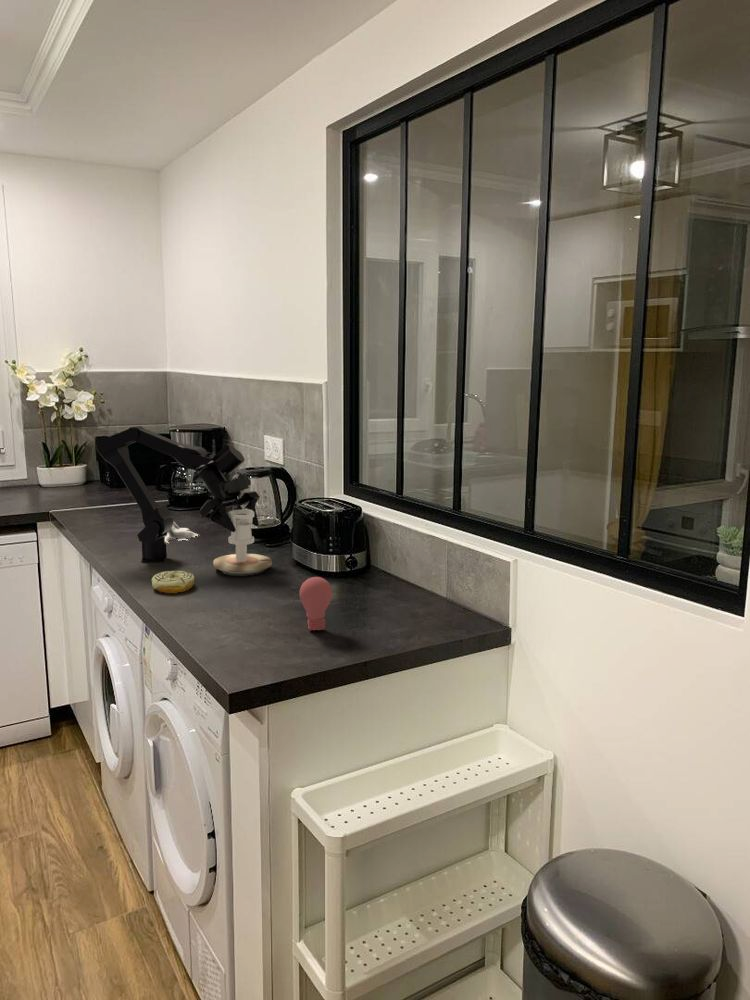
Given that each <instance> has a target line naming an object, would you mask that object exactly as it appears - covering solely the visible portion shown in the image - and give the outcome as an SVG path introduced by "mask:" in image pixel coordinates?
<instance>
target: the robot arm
mask: <svg viewBox="0 0 750 1000" xmlns="http://www.w3.org/2000/svg"><path fill="white" fill-rule="evenodd" d="M136 442H137V443H138V444H141V445H143V446H146V447H149V448H150V449H153V450H155V451H158V452H161V453H163V454H165V455H168V456H171V458H173V459H175V460H176V462H177V463H179V464H180V465H182V466H184V467H185V468H187V469H188V470H197V469H200V468H202V469H200V471H194V475H193V478H192V482H197V483H203V484H204V486H205V487H206V489H207V490H208V494H207V497H208V499H207V500H206V501H205V502H204V503H203V505H202V506H201V508H200V509H199V514H200V517H202V519H203V520H207V521H210V522H213V523H215V524H218V525H219V526H221V527H223V528H225V529H227V530H228V531H230V532H231V531H232V532H235V531H236V529H235V527H234V525H233V523H232V521H231V518H230V517H229V516H228V512H227V509H229V508H234V507H236V508H237V510H242V509H245V508H247V509H250V510H253V511H254V517H253V521H252V523H251V525H253V526H254V527H258V526H259V524H260V523H259V519H258V515H257V510H256V504H257V503H258V501H259V499H260V495H259V494H258V493H257V491H254V490H251V491H247V492H244V493H243V494H242V491H244V490H248V489H249V488H250V486H251V484H252V482H251V479H250V478H249V476H248V475H247V474H244V475H243V474H242V475H241V476H239V477H236V478H234V479H229V480H227V478H226V477H225V476H224V475H225V474H226V475H227V474H228V475H231V474H232V473H233V472H234V471H235V470H236V469H237V468H239V467H240V466H241V465H242V464H243V463H245V461H246V459H245V457H244V455H243V454H242V453H241V452H240V450H237V448H235V447H234V446H231V444H230V443H226V444H225V445H224V446H223V447H222V448H221V449H220V450H219V451H218V452H217V453H213V452H209V451H207V449H205V448H204V447H201V446H197V445H192V444H185V443H181V442H177V441H175V440H173V439H170V438H168V437H165V436H163V435H161V434H159V433H156V432H153V431H151V430H150V429H147V428H144V427H143V426H142V425H135V426H131V427H129V428H127V429H125V430H122V431H119V432H118V433H111V434H105V435H102V436H100V437H99V438H98V439H97V440H96V444H95V448H96V451H97V452H98V454H99V455H100V456H101V457H102V458H103V460H104V461H105V462H107V463H109V464H110V465H111V466H112V467H114V469H115V470H116V472H117V474H118V475H119V477H120V478H121V480H122V482H123V483H124V485H125V486H126V488H127V490H128V492H129V493H130V494H131V496H132V498H133V499H134V502H135V503H136V504H137V506H138V508H139V509H140V511H141V512H140V513H141V521H142V523H143V525H144V527H143V528H142V530H140V532H138V533H137V537H138V540H139V542H141V559H140V561H141V563H144V562H145V563H151V562H152V563H153V562H158V563H159V562H165V561H166V559H167V558H168V544H167V542H165V537H164V536H167V533H168V531H169V530H170V529H171V528H172V526H173V521H174V519H173V517H174V514H172V513H171V512H170V510H169V508H168V506H167V504H166V503H165V504H163V505H160V504H159V503H158V502H157V501H156V500H155V498H154V497H153V496H152V494H151V492H150V490H149V489H148V487H147V485H146V484H145V482H144V481H143V479H142V477H141V475H140V474H139V473H138V471H137V469H136V467H135V465H134V464H133V463H132V461H131V459H130V458H131V457H130V451H129V448H128V446H130V445H131V444H132V445H133V443H136ZM208 464H209V465H208ZM206 465H208V466H206ZM223 474H224V475H223ZM241 494H242V495H241ZM239 496H240V498H238V497H239ZM209 498H210V499H209ZM242 515H247V514H242Z"/></svg>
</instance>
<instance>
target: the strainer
mask: <svg viewBox="0 0 750 1000" xmlns="http://www.w3.org/2000/svg"><path fill="white" fill-rule="evenodd" d="M243 514H247V515H243ZM227 515H228V516H229V518H230V520H231V521H232V523H233V525H234V527H235V529H236V531H235V532H232V531H230V536H228V539H227V541H228V544H231V545H235V554H236V562H246V561H247V554H248V547H247V546H248V545H251V544H253V543H255V537H254V536H253V535H252V521H253V517H254V511H253V510H250V509H247V508H245V509H242V510H239V509H234V510H233V509H232V510H229V511H228V512H227Z"/></svg>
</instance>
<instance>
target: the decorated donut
mask: <svg viewBox="0 0 750 1000" xmlns="http://www.w3.org/2000/svg"><path fill="white" fill-rule="evenodd" d="M194 583H195V576H194V574H193V573H190V572H189V571H184V570H167V571H166V570H165V571H162V572H158V573H156V574H155V575H153V576H152V578H151V585H152V588H153V589H155V590H156V591H158V592H159V591H160V592H159V593H162V592H165V593H164V594H170V593H174V594H179V593H178V592H180V593H183V592H187V591H189V590H190V589H191V588H193V586H194ZM186 590H187V591H186Z"/></svg>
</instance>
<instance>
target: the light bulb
mask: <svg viewBox="0 0 750 1000" xmlns="http://www.w3.org/2000/svg"><path fill="white" fill-rule="evenodd" d="M332 588H333V587H332V586H331V584H330V583H329V582H328V581H327V580H326V579H325V578H323V577H321V576H312V577H309V578H307V579H306V580H305V581H303V582H302V584H301V586H300V588H299V600H300V602H301V603H302V606H303V608H304V610H305V611H306V617H307V618H308V619H307V624H308V625H307V628H308V630H311V631H315V630H318V631H321V630H324V629H325V626H326V619H325V616H326V611H327V609H328V607H329V605H330V603H331V601H332V598H333V589H332Z"/></svg>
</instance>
